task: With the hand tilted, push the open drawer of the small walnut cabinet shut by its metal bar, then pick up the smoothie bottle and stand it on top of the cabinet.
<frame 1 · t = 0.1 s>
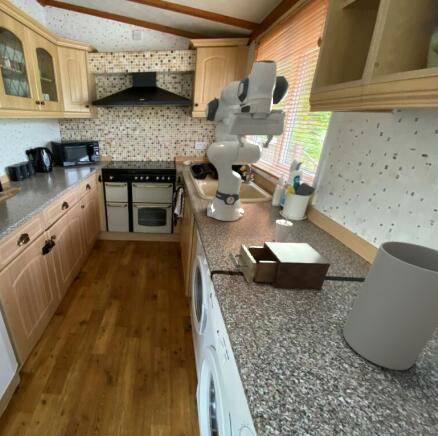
hand: (253, 147, 95), 39 cm above the worktop, tool pointing down, fingers open, 8 cm apart
cylinder vase: (373, 347, 58), on the worktop
smoothie: (278, 243, 104), on the worktop
drawer: (258, 263, 81), point 5 cm above the worktop, slide at 7.0 cm
cabinet: (287, 276, 83), on the worktop
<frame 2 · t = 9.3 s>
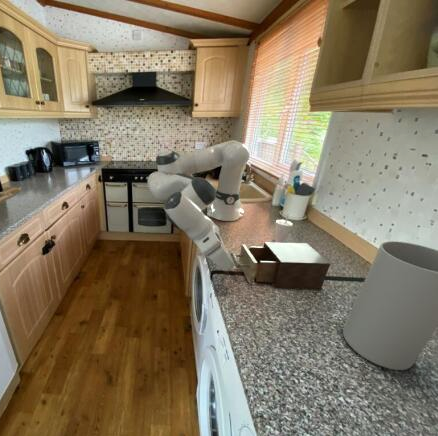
hand: (231, 260, 81), 6 cm above the worktop, tool tilted 45°, fingers closed, pressing on drawer
drawer: (259, 263, 81), point 5 cm above the worktop, slide at 6.7 cm, touching gripper
everything else where it was.
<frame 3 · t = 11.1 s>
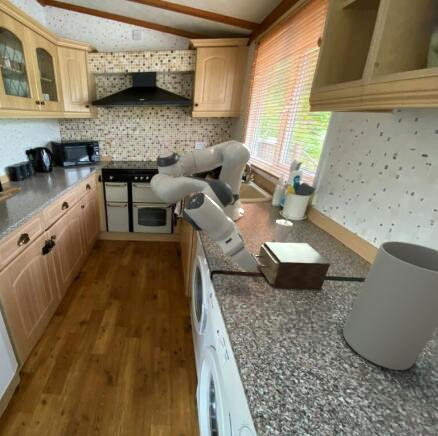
hand: (251, 261, 81), 5 cm above the worktop, tool tilted 45°, fingers closed, pressing on drawer
drawer: (279, 264, 81), point 5 cm above the worktop, slide at 0.0 cm, touching cabinet, gripper
everything else where it was.
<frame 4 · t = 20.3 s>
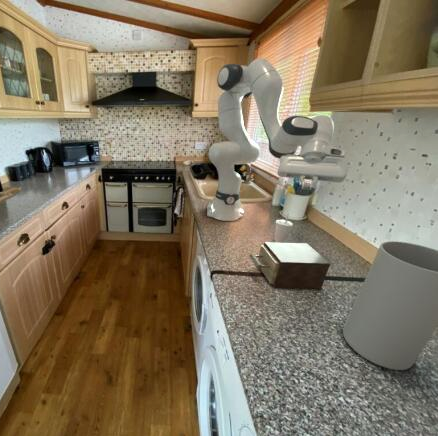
hand: (306, 188, 83), 28 cm above the worktop, tool tilted 45°, fingers closed
drawer: (279, 264, 81), point 5 cm above the worktop, slide at 0.0 cm, touching cabinet
everything else where it was.
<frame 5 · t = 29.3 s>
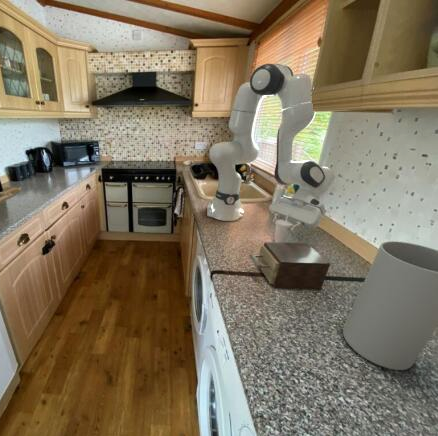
hand: (282, 226, 101), 8 cm above the worktop, tool tilted 45°, fingers closed on smoothie, 6 cm apart
smoothie: (278, 243, 104), on the worktop, touching gripper
everything else where it was.
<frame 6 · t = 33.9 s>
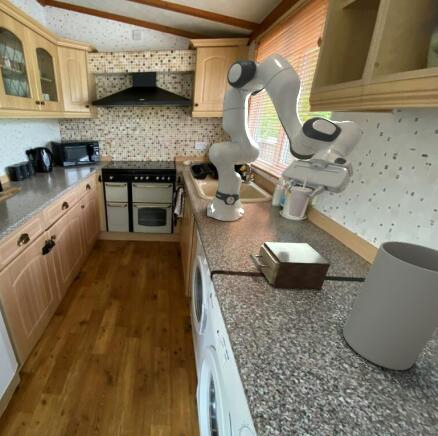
hand: (299, 194, 84), 26 cm above the worktop, tool tilted 45°, fingers closed on smoothie, 6 cm apart
smoothie: (294, 215, 87), point 18 cm above the worktop, touching gripper
everything else where it was.
when the fingers open (17 cm above the worktop, at t = 38.6 s): smoothie stays where it is, resting on cabinet.
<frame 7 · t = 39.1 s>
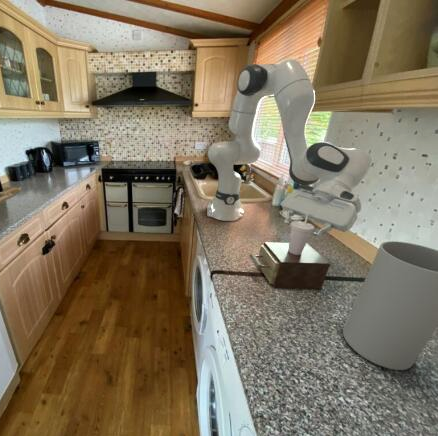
hand: (300, 229, 75), 18 cm above the worktop, tool tilted 45°, fingers open, 8 cm apart
smoothie: (294, 252, 79), point 9 cm above the worktop, touching cabinet
everything else where it was.
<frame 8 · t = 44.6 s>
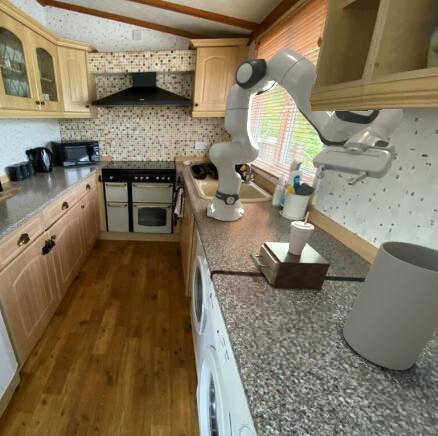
hand: (333, 180, 78), 31 cm above the worktop, tool tilted 45°, fingers open, 8 cm apart
nothing on the worktop moved.
at the end: drawer slide at 0.0 cm; smoothie inside the target area on the cabinet (0.1 cm from its centre), point 9.4 cm above the cabinet's base; smoothie tilted 0° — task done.
